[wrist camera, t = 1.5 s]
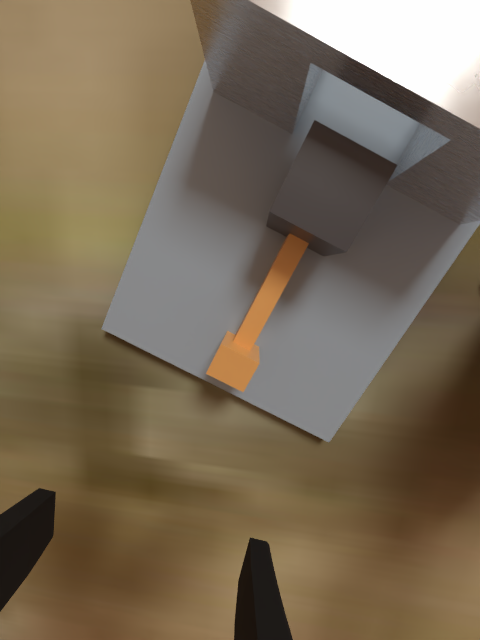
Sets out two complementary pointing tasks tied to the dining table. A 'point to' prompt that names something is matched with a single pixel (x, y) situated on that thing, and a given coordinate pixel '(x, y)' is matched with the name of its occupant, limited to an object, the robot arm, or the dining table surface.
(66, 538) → the dining table surface
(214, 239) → the board
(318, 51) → the grey arch block
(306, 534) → the dining table surface
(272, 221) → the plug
